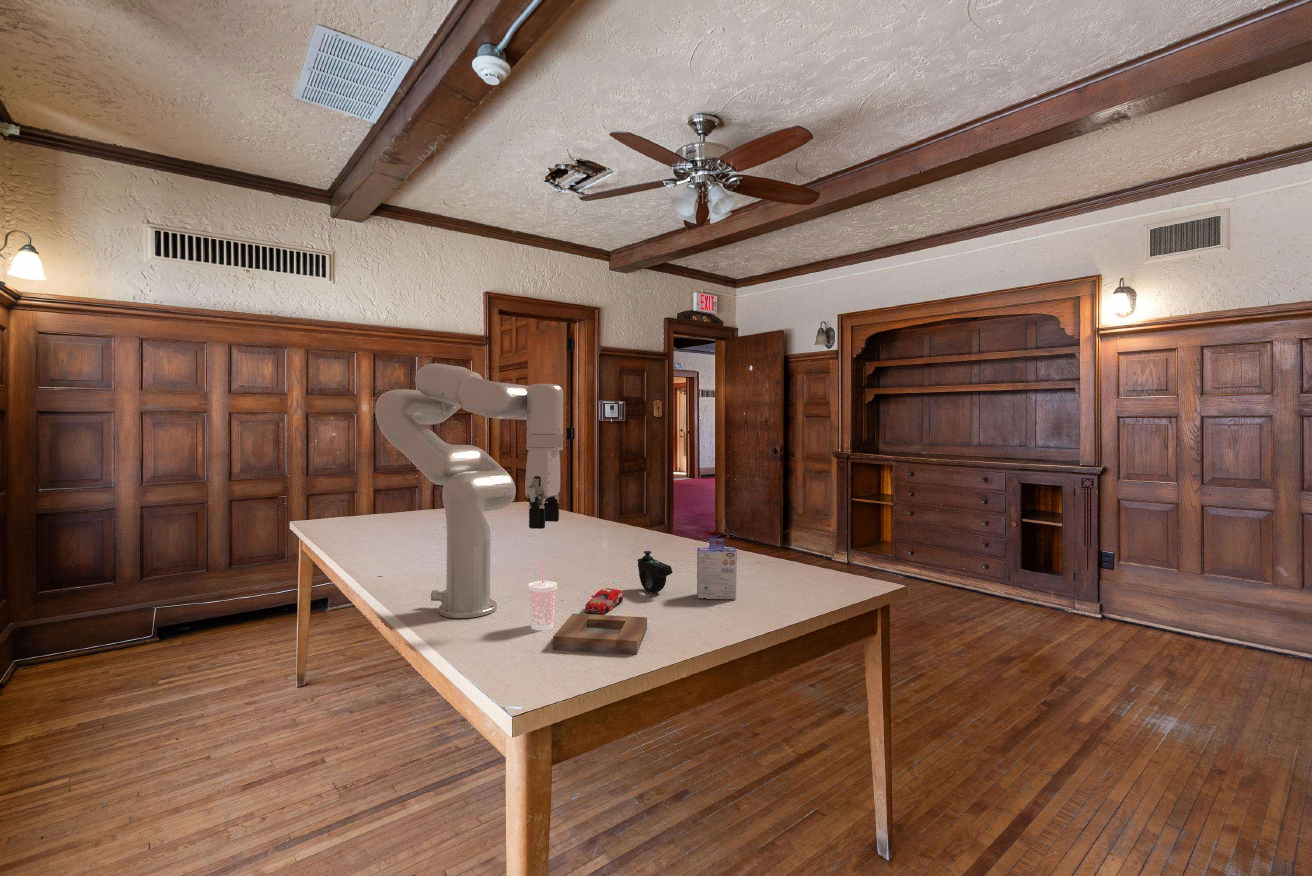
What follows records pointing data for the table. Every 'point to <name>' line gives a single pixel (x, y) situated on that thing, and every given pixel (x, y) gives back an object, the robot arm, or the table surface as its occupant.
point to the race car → (604, 601)
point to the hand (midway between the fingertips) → (544, 524)
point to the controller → (652, 573)
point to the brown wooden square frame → (601, 633)
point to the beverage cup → (542, 603)
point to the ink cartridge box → (716, 571)
